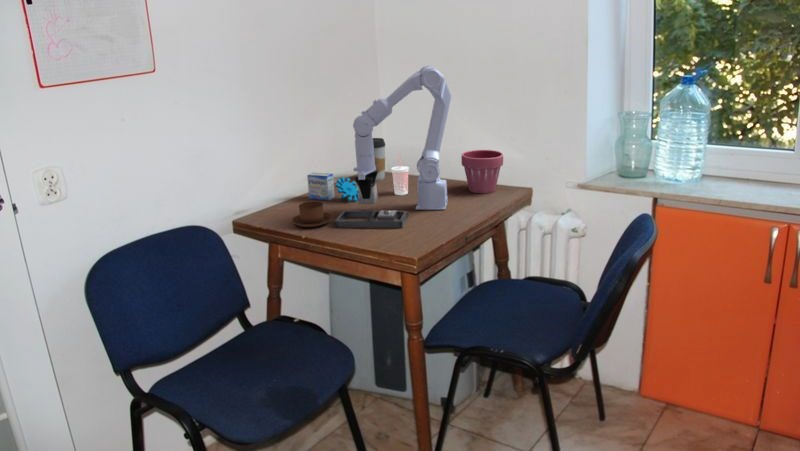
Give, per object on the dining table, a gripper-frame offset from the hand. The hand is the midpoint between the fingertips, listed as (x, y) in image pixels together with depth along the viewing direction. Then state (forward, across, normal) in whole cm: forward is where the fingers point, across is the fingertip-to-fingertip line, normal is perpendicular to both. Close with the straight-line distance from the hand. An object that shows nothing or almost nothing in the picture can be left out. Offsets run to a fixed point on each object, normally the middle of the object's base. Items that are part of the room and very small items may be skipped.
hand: (368, 196), depth 216 cm
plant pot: (+6, -25, +35) cm, 43 cm away
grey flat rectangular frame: (+5, +12, +3) cm, 13 cm away
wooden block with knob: (+5, +12, +8) cm, 15 cm away
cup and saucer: (+5, +13, -15) cm, 21 cm away
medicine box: (+5, -15, -20) cm, 26 cm away
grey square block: (+2, 0, 0) cm, 2 cm away
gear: (+5, -13, -9) cm, 17 cm away
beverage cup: (+5, -21, +7) cm, 23 cm away
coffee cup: (+5, -41, -6) cm, 42 cm away
